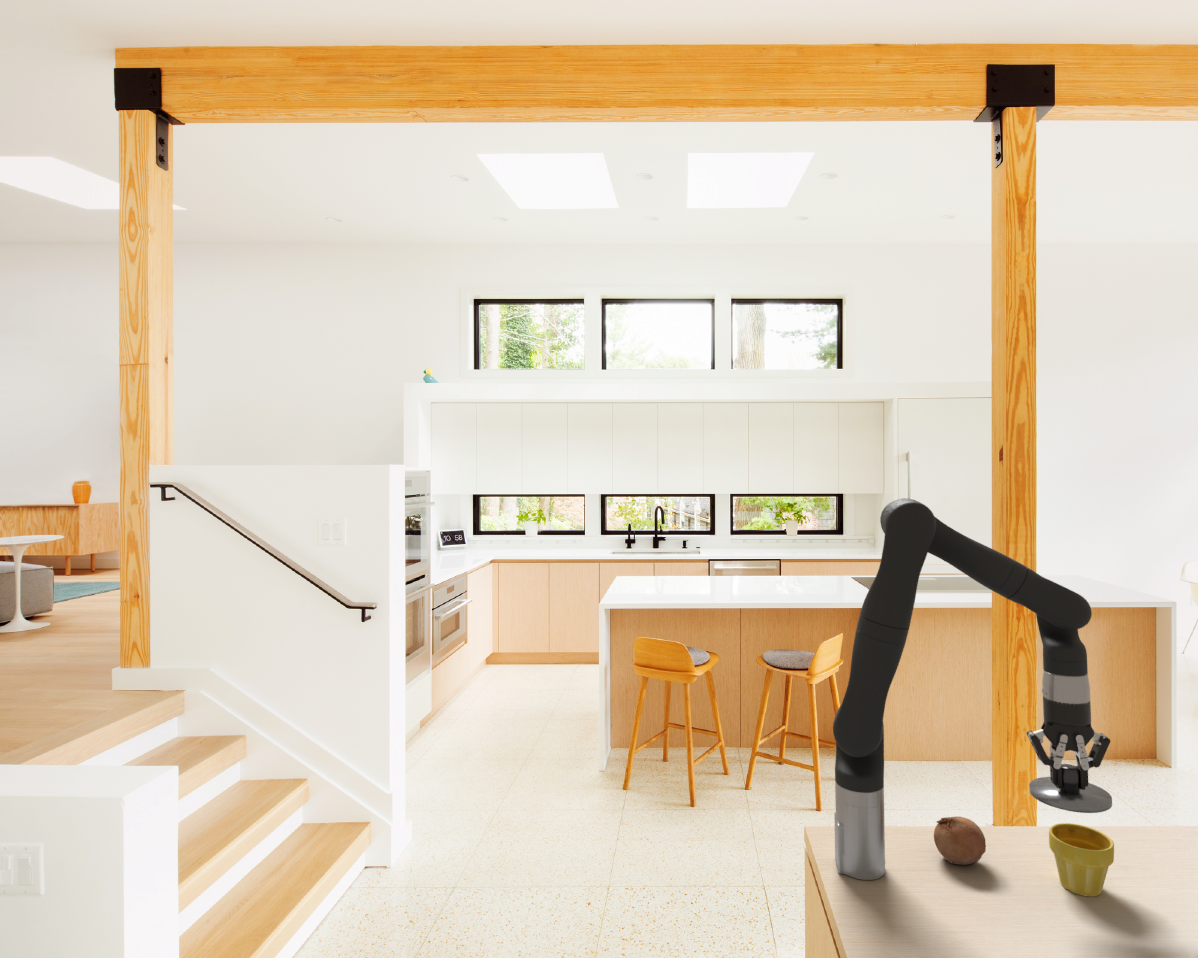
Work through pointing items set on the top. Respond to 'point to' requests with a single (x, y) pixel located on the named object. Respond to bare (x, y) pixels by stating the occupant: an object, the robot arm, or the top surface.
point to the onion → (959, 840)
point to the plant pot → (1081, 857)
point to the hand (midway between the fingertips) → (1069, 786)
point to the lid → (1071, 793)
